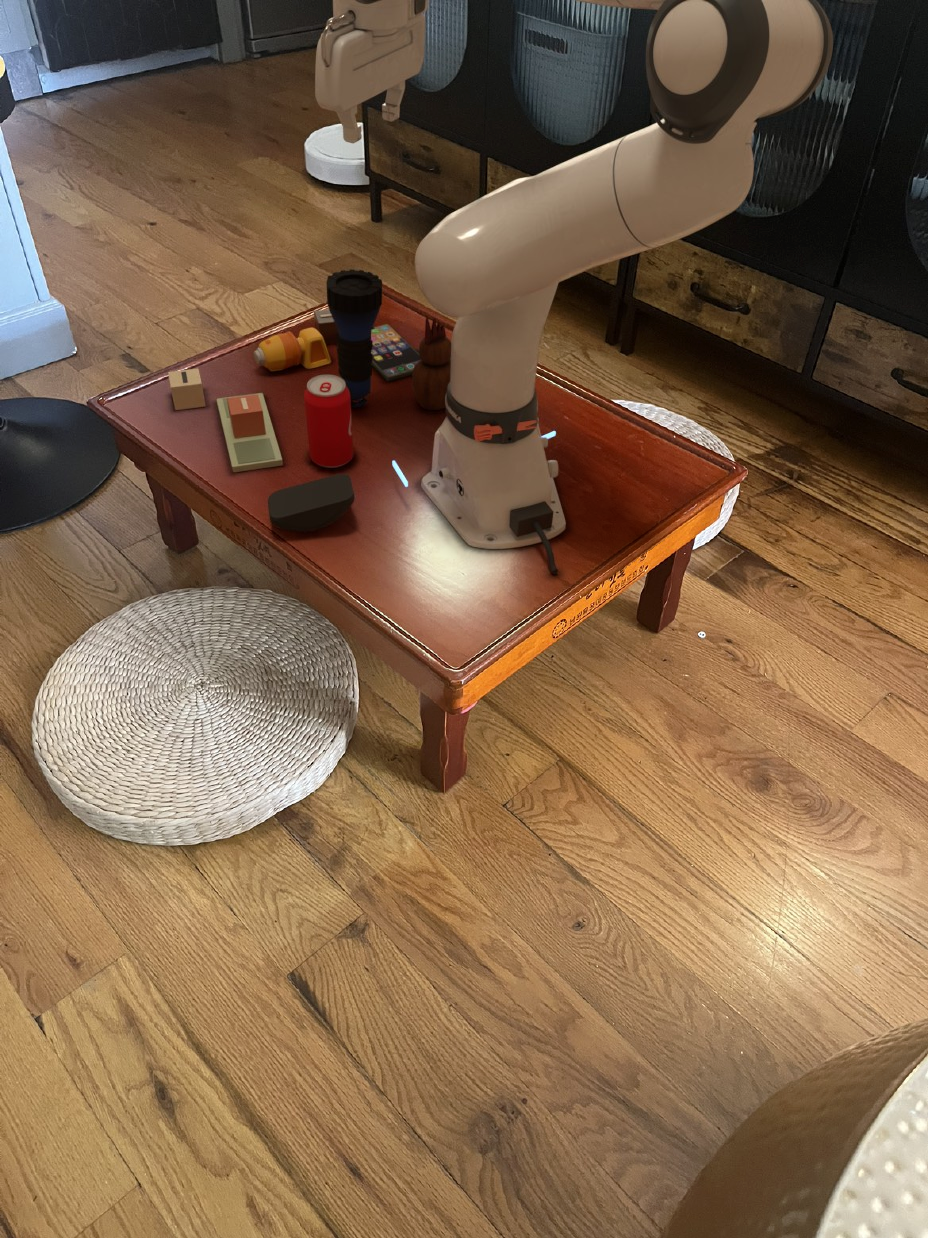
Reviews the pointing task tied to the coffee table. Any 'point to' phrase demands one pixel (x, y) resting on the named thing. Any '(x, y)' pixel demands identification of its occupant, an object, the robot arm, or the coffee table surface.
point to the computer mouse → (311, 504)
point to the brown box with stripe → (326, 326)
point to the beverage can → (329, 421)
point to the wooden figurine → (432, 368)
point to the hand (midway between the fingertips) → (372, 129)
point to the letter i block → (186, 389)
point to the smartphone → (392, 353)
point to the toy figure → (293, 350)
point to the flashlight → (354, 326)
